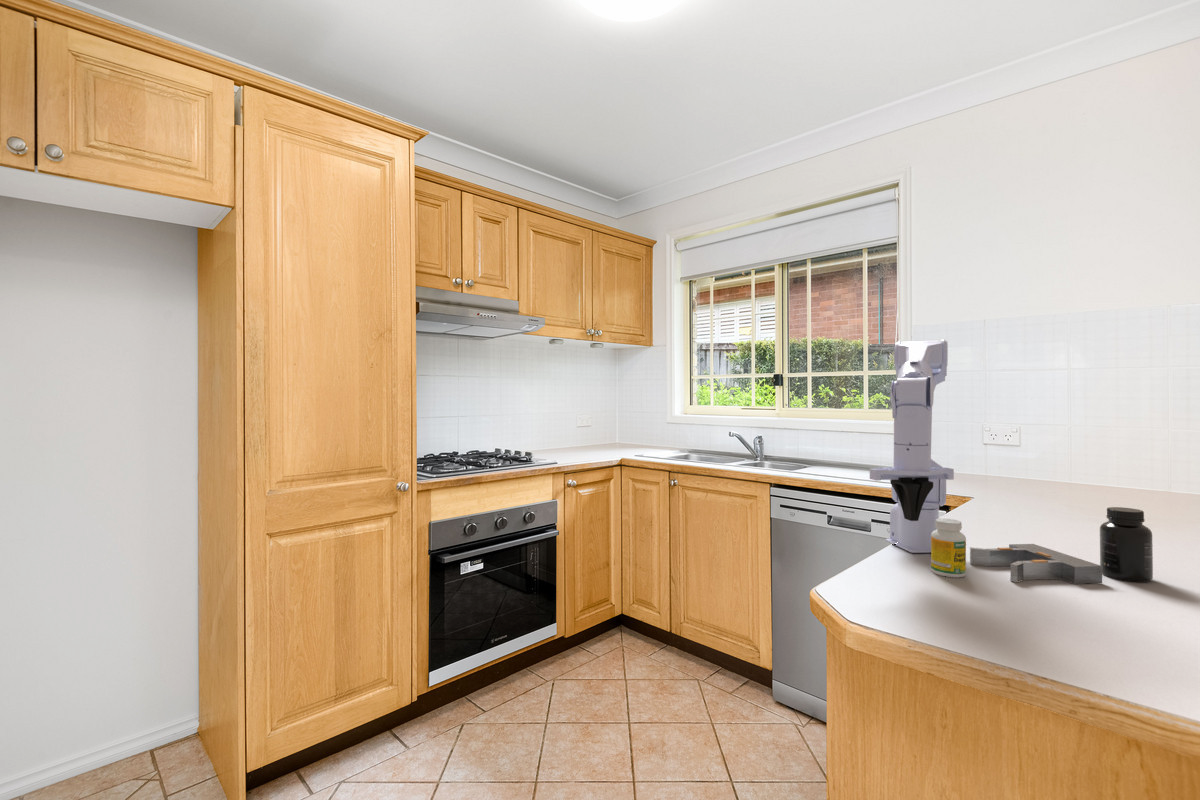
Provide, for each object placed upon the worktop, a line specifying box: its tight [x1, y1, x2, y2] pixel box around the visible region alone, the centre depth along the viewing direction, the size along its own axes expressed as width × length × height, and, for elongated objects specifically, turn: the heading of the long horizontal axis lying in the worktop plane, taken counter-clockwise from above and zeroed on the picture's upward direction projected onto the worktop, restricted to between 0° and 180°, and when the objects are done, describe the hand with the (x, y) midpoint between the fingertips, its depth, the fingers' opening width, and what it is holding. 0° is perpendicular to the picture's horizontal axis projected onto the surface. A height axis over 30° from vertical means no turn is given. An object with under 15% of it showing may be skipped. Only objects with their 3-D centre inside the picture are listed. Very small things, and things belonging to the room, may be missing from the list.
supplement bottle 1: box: [930, 517, 967, 579], centre depth 101 cm, size 5×5×10 cm
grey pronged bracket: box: [969, 543, 1103, 585], centre depth 102 cm, size 14×15×3 cm
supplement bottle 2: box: [1099, 506, 1154, 583], centre depth 99 cm, size 7×7×12 cm
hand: (911, 519), depth 100 cm, fingers closed
